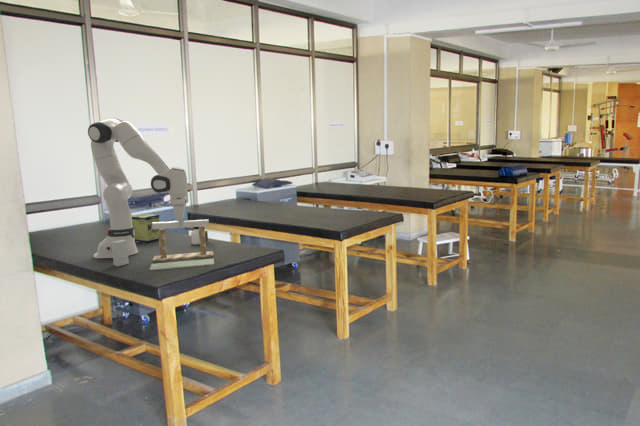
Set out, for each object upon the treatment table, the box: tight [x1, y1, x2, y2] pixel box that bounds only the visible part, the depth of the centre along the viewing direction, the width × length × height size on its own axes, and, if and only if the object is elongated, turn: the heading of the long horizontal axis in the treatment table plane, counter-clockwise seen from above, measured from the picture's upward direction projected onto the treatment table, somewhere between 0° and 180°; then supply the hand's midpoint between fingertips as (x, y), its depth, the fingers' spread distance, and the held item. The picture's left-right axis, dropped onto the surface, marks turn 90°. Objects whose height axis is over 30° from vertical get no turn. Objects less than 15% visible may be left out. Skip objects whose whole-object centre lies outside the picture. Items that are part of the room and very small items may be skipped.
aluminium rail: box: [152, 219, 210, 230], centre depth 263 cm, size 28×3×3 cm, turn 103°
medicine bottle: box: [190, 227, 209, 245], centre depth 297 cm, size 7×7×12 cm
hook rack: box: [152, 226, 215, 263], centre depth 264 cm, size 30×8×15 cm, turn 103°
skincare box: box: [111, 240, 130, 267], centre depth 253 cm, size 6×4×12 cm
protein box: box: [132, 213, 161, 244], centre depth 309 cm, size 10×16×16 cm
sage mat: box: [149, 258, 215, 271], centre depth 250 cm, size 30×10×1 cm, turn 103°
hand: (180, 225), depth 263 cm, fingers closed on aluminium rail, 3 cm apart
